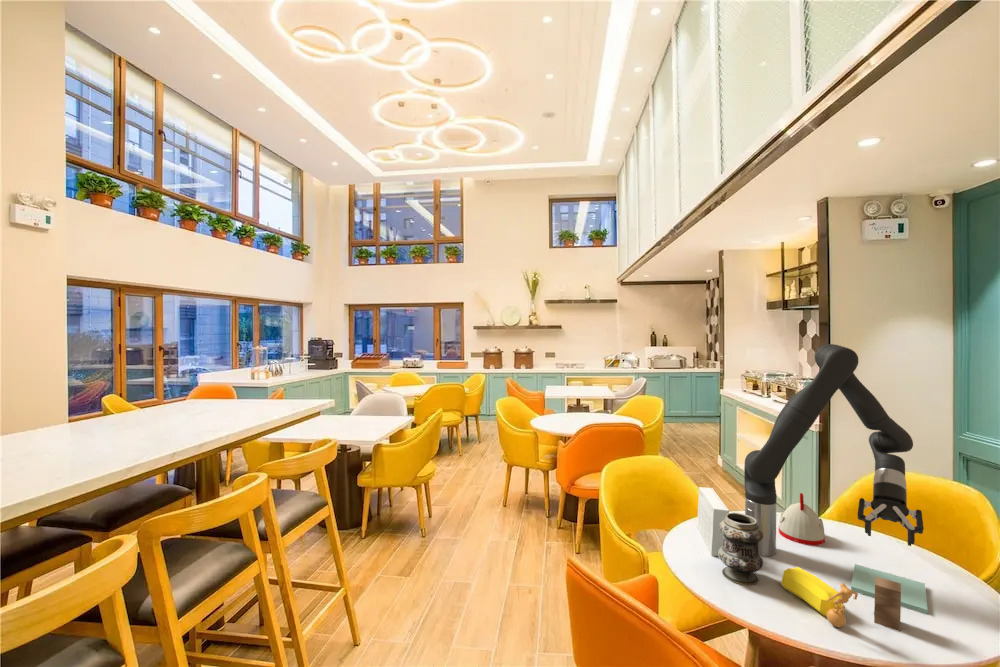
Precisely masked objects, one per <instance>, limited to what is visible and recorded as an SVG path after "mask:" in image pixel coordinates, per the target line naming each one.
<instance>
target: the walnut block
mask: <svg viewBox="0 0 1000 667" xmlns="http://www.w3.org/2000/svg"><path fill="white" fill-rule="evenodd" d="M901 608H902V606H901V583H897V582H894V581H890V580H887V579H883V578H880V577H876V578H875V598H874V616H873V617H874V618H873V622H874V624H876V625H879V626H883V627H885V628H889V629H892V630H894V631H898V632H901V617H902V616H901V612H902V611H901Z"/></svg>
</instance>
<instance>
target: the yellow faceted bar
mask: <svg viewBox="0 0 1000 667" xmlns="http://www.w3.org/2000/svg"><path fill="white" fill-rule="evenodd" d="M781 578H782V579H781V581H780V582H781V586H782V587H783V588H784V589H785V590H786V591H789V593H791V594H793V595H794V596H796V597H797V598H798V599H799V598H800V599H801V600H802V601H805V603H807V604H808V605H810V606H811V607H812V608H813V609H815V610H816V611H817V612H818V613H820V614H821V615H822V616H824V617H827V612H828V610H830V609H837V608H836V606H835V604H834V602H833V601H834V600H836V599H838V598H840V599H841V595H839V596H837V597H835V598H833V599H831V600H829V601H828V602H826V601H827V599H829V598H830V597H832V596H834V595H835V594H837V593H838V592H839V591H837V590H836V589H835V588H834V587H832V586H831V585H829V584H828V583H826V582H825V581H824V580H822V579H820V578H819V577H817V575H815V574H812V573H810V572H809V571H807V570H805V569H803V568H800V567H799V566H796V567H794V568H789V567H788V568H786V569H785V570H783V574H782V577H781ZM837 605H838V606H839V609H840V610H841V609H842V606H841V603H840V604H837ZM842 613H843V614H844V615H845V610H844V611H842Z"/></svg>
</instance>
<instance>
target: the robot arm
mask: <svg viewBox="0 0 1000 667" xmlns="http://www.w3.org/2000/svg"><path fill="white" fill-rule="evenodd" d="M814 362H815V363H816V365H817V367H818V368H819V370H818V372H817V374H815V377H814V378H813V380H811V382H809V384H807V385H806V386H805V387H803V388H802V389H800V390H799V391H797V393H795V394H793V396H791V397H790V398H789V399H788V401H786V404H785V405H784V406H783V408H782V409H781V410H780V412H778V413H779V414H778V415H777V417H776V419H775V422H774V424H773V427H772V430H771V432H770V435H769V438H767V441H765V444H763V446H762V447H761V449H760V450H759V449H756V450H753V451H750V452H748V454H747V455H746V457H745V459H744V468H743V469H744V473H743V475H744V492H745V493H744V494H745V496H744V497H745V498H744V500H745V501H744V503H745V504H744V514H745V515H748V516H751V517H753V518H754V519H755V520H756V521H757V525H758V527H759V528H760V529H761V530H762V532H763V538H762V540H761V541H759V542H758V553H759V555H760V556H761V557H762V556H764V557H772V556H775V555H776V553H777V505H778V504H777V496H778V494H777V489H776V479H777V477H778V476H779V475H780V472H781V471H782V469H783V467H784V465H785V464H786V461H787V459H788V458H789V456H790V455H791V453H792V452H793V450H794V449H795V448H796V447H797V445H798V444H799V443H800V442H801V441H802V439H803V437H805V435H806V434H807V432H808V431H809V430H810V429H811V427H812V426H813V425H814V423H815V422H816V420H817V419H818V418H819V416H820V414H821V413H822V411H823V410H824V409H825V407H826V406H827V405H828V403H829V402H830V401H831V399H832V398H833V396H834V395H835V394H836V392H837V391H838V390H839V391H840V392H841V393H842V395H843V396H844V397H845V399H846V400H847V402H848V403H849V405H850V406H851V407H852V409H853V410H854V413H855V414H856V416H857V417H858V418H859V420H860V422H861V423H862V424H863V426H864V427H865V428H866V429H868V430H871V431H874V432H872V433H871V434H870V435H869V437H868V443H869V446H870V449H871V451H872V455H873V458H874V475H873V482H872V486H873V487H872V501H869V500H865V499H864V498H863V497H861V498H859V501H858V509H857V519H858V520H859V521H861V522H862V521H863V522H864V533H865V534H867V536H868V537H871V536H872V523H873V522H875V521H877V520H878V519H881V520H884V521H890V522H893V523H899V524H900V525H901V526H902V528H905V529H906V531H907V546H909V547H912V545H915V542H916V541H915V534H920V535H921V534H924V519H923V513H922V510H921V509H915V510H913V509H909V508H908V503H907V502H908V501H907V500H908V499H907V498H908V497H907V496H908V495H907V494H908V493H907V491H908V488H907V480H906V462H905V460H904V458H902V457H900V456H898V455H896V454H897V453H907V452H910V451H911V450H912V449H913V448H914V441H913V438H912V437H911V435H910V434H909V433H908V431H906V430H905V428H903V427H902V426H901V425H899V424H898V423H897V422H896V421H895V420H894V419H892V417H890V416H889V415H888V413H887V412H886V409H884V407H883V406H882V404H881V403H880V401H879V400H878V399H877V398H876V396H875V395H874V394H873V393H872V392H871V391H870V390H869V389H868V388H867V387H866V386H865V385H864V384H863V383H862V381H860V380H859V378H858V377H857V376H856V375H855V373H854V372H855V371H856V369H857V367H858V365H859V355H858V354H857V352H856V351H854V350H853V349H851V348H849V347H846V346H843V345H839V344H832V343H830V344H828V343H827V344H823V345H821V346H820V347H818V348H817V350H816V351H815V353H814ZM868 507H870V508H871V509H872V511H871V512H870V513H869V514H867V515H864V512H865V509H868ZM909 515H910V516H911V517H912V519H914V520H915V521H916V524H915V525H916V526H914V525H913V524H912V523H911V522H910V520H909V519H908V518H907V516H909Z"/></svg>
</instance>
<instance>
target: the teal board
mask: <svg viewBox="0 0 1000 667" xmlns="http://www.w3.org/2000/svg"><path fill="white" fill-rule="evenodd" d="M853 566H854V567H853V574H852V579H851V585H850V590H852V591H854V592H856V593H858V594H861V595H863V596H868V597H871V598H873V599H875V578H876V577H880V578H883V579H887V580H890V581H894V582H897V583H901V608H902V607H903V608H906V609H909V610H913V611H916V612H919V613H922V614H925V615H928V612H929V610H928V602H927V601H928V599H927V591H926V583H925V582H922V581H918V580H914V579H910V578H906V577H903V576H900V575H896V574H892V573H889V572H886V571H882V570H878V569H875V568H871V567H867V566H863V565H861V564H857V563H855V564H854V565H853Z"/></svg>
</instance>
